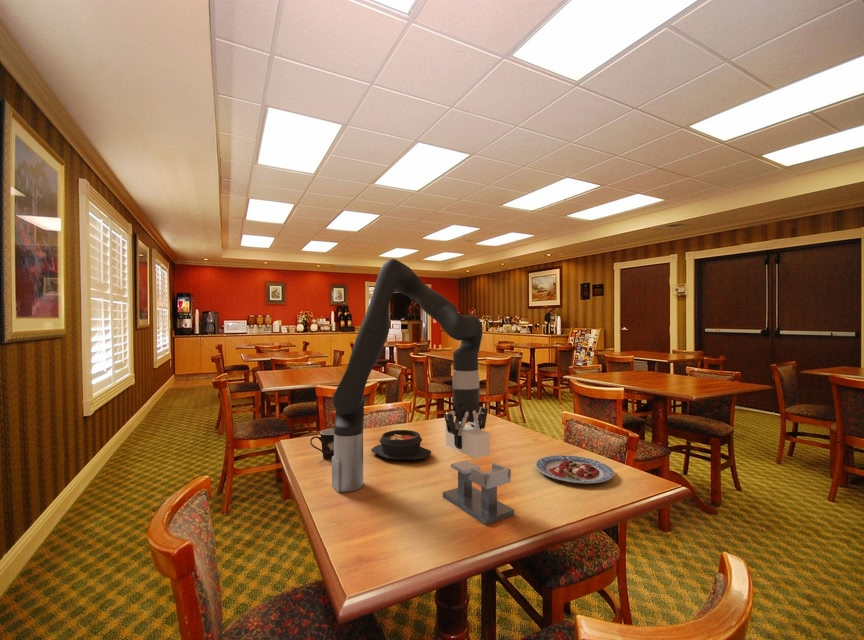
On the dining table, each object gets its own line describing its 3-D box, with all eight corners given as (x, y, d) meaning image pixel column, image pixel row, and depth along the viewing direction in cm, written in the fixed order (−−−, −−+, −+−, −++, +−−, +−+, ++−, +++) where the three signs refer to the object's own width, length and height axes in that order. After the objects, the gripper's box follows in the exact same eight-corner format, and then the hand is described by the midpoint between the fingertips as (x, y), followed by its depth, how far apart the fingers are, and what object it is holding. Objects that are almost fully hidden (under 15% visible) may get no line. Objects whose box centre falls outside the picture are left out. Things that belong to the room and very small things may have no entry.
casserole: (439, 453, 158) (439, 432, 158) (416, 468, 142) (416, 445, 142) (387, 444, 170) (387, 425, 170) (361, 458, 153) (361, 436, 154)
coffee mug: (345, 453, 158) (345, 429, 158) (338, 461, 149) (338, 435, 150) (317, 453, 159) (317, 428, 159) (309, 460, 151) (309, 434, 151)
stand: (485, 525, 102) (485, 477, 102) (442, 497, 118) (442, 455, 118) (514, 515, 107) (513, 469, 107) (468, 489, 124) (468, 449, 124)
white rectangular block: (475, 458, 103) (474, 435, 103) (445, 445, 115) (445, 424, 115) (490, 455, 106) (489, 432, 106) (459, 442, 118) (459, 422, 118)
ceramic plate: (552, 456, 155) (552, 448, 155) (622, 471, 139) (622, 463, 139) (522, 476, 135) (522, 467, 135) (600, 496, 119) (600, 486, 119)
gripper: (477, 382, 118) (478, 439, 117) (437, 386, 110) (438, 447, 110) (494, 385, 111) (495, 445, 111) (452, 390, 104) (453, 455, 104)
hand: (466, 446), depth 110 cm, fingers closed on white rectangular block, 5 cm apart
